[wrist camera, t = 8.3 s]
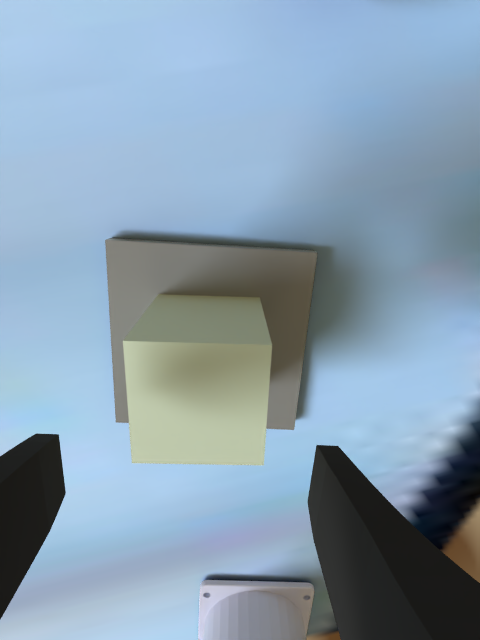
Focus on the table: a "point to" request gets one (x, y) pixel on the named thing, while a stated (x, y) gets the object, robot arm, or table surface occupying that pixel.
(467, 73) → the table surface
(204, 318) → the block
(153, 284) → the coaster
